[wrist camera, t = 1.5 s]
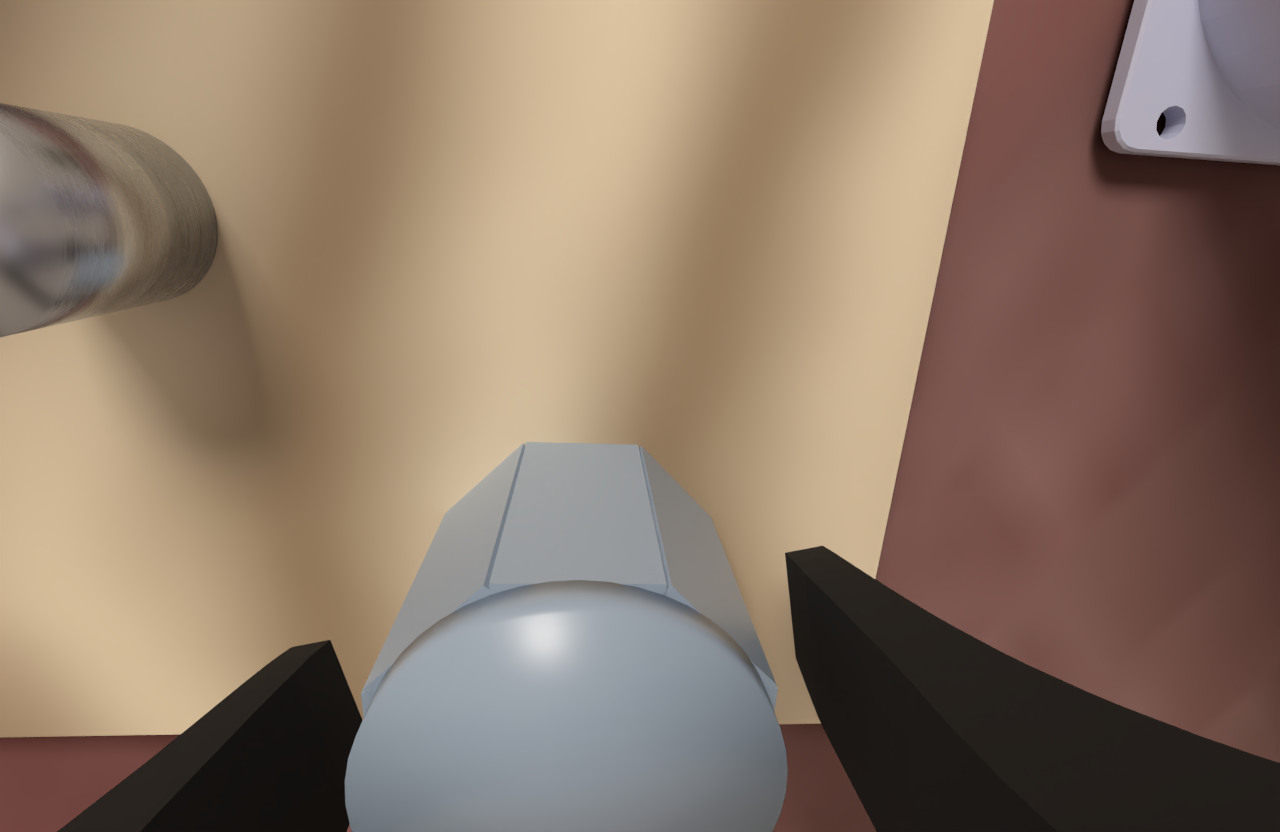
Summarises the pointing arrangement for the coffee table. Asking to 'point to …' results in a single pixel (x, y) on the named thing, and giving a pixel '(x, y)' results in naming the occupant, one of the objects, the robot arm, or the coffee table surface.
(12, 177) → the stud
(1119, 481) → the coffee table surface
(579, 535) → the cap
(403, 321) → the board
